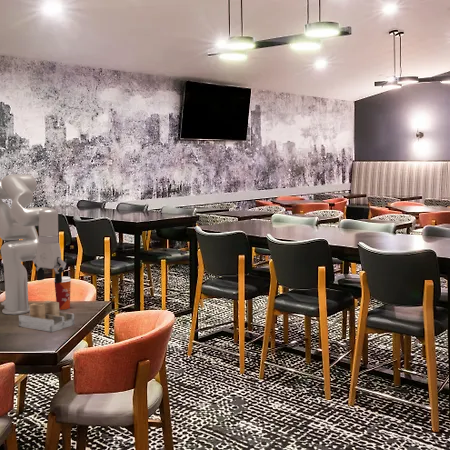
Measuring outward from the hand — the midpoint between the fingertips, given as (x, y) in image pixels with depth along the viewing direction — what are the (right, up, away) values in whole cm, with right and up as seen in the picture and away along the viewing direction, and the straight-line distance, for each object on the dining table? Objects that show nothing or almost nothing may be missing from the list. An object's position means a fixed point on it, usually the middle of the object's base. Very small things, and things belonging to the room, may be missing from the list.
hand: (49, 281), depth 244 cm
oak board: (-4, -18, -3) cm, 19 cm away
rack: (-1, -18, -1) cm, 18 cm away
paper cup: (-2, -15, +28) cm, 32 cm away
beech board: (+1, -18, +1) cm, 18 cm away
